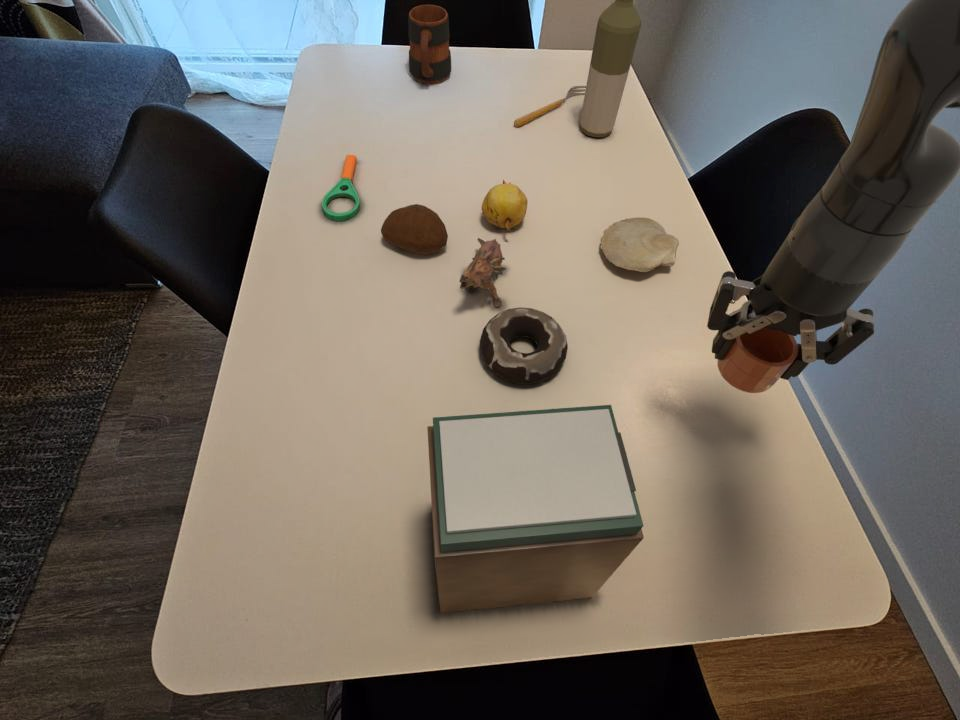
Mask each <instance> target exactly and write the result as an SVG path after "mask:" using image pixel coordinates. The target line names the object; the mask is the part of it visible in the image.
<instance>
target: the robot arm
mask: <svg viewBox="0 0 960 720" xmlns="http://www.w3.org/2000/svg"><path fill="white" fill-rule="evenodd" d="M944 109H955V110H956V109H959V110H960V0H909V2H907V3H906V4H905V6H903V8H902V9H900V11H899V12H898V13H897V15H896V16H895V18H894V19H893V20H892V22H891V24H890V25H889V27H888V29H887V31H886V33H885V35H884V37H883V39H882V42H881V44H880V47H879V50H878V52H877V55H876V60H875V63H874V67H873V71H872V75H871V79H870V82H869V85H868V89H867V91H866V97H865V99H864V101H863V104H862V107H861V110H860V113H859V116H858V119H857V122H856V126H855V128H854V132H853V134H852V137H851V139H850V142H849V145H848V146H847V148H846V149H845V151H844V152H843V154H842V155H841V156H840V158H839V160H838V162H836V164H835V166H834V168H833V169H832V171H831V172H830V174H829V175H828V177H827V179H826V180H825V182H824V184H823V185H822V187H821V188H820V189H819V191H817V193H816V194H815V195H814V196H813V198H811V200H810V201H809V202H808V204H807V205H806V206H805V207H804V209H803V211H802V212H801V214H800V215H799V216H798V217H797V218H796V219H795V221H794V222H793V224H792V225H791V229H790V231H789V233H788V234H787V236H786V237H785V239H784V241H783V242H782V244H781V245H780V247H779V249H778V250H777V251H776V253H775V255H774V256H773V258H772V260H771V261H770V263H769V264H768V266H767V267H766V269H765V271H764V272H763V274H762V275H760V276H758V277H757V278H755V279H754V280H752V281H749V280H742V279H738V278H737V274H736V272H734V271H730V270H726V271H725V272H722V275H721V278H720V280H719V282H718V286H717V289H716V292H715V293H714V297H713V299H712V303H711V305H710V308H709V313H708V319H707V325H706V327H707V329H709V330H711V331H717V333H716V335H715V336H714V338H713V340H712V345H711V353H712V354H714V359H715V360H717V361H718V360H722V359H723V358H724V356H725V355H726V353H727V351H728V350H729V348H730V347H731V345H732V344H733V342H734V340H735V338H736V337H738V336H740V335H742V334H744V333H746V332H747V333H748V334H751V333H753V332H755V331H757V330H759V329H761V328H767V329H771V330H780V331H782V332H784V333H786V334H789V335H792V336H794V337H797V336H798V335H800V343H797V344H798V356H797V357H796V359H795V360H794V361H793V363H792V364H791V365H790V366H789V367H788V368H787V370H786V371H785V372H784V373H783V374H782V376H781V377H780V378H779V379H782V380H785V381H789V380H790V379H791V378H796V377H799V376H800V374H801V373H802V372H803V371H804V370H805V369H806V368H807V367H808V365H809V364H811V363H814V362H816V361H818V360H820V361H824V363H825V364H827V365H830V366H831V365H836V364H838V363H839V362H841V361H842V360H843V359H845V357H847V356H848V355H850V353H852V352H853V351H855V350H856V349H857V348H858V347H859V346H861V345H862V344H863V343H864V342H866V341H867V340H868V339H869V338H871V337H872V336H873V335H874V334H875V319H874V311H873V310H872V309H871V308H862V309H859V310H858V311H857V310H854V309H852V308H851V306H853V304H854V303H855V302H856V301H857V300H858V299H859V297H860V296H862V294H863V293H864V292H865V291H866V289H867V288H868V287H869V286H870V285H871V284H872V283H873V281H875V279H876V278H877V276H878V275H879V274H880V273H881V272H882V271H883V269H884V268H885V267H887V265H888V264H889V263H890V262H891V260H893V258H894V257H895V255H896V254H897V253H898V252H899V251H900V249H901V248H902V247H903V245H904V243H905V241H906V240H907V239H908V237H909V235H910V233H911V232H912V231H913V229H914V228H915V227H916V225H918V223H919V222H920V221H921V220H922V218H923V217H924V216H925V215H926V214H927V213H928V212H929V210H930V209H931V208H932V207H933V205H935V203H936V202H937V201H938V200H939V199H940V197H942V196H943V194H944V193H945V192H946V191H947V190H948V188H949V187H950V186H951V184H952V183H953V182H954V180H955V179H956V177H957V176H958V174H959V173H960V143H959V142H958V140H957V139H956V138H955V137H954V136H952V134H951V133H949V132H947V131H946V130H944V129H943V128H942V127H939V126H936V125H934V124H932V122H933V121H934V119H935V118H936V117H937V116H938V115H939V114H940V113H941V111H943V110H944ZM744 296H748V298H749V300H747V301H745V302H744V303H743V304H742V305H741V307H740V308H738V309H736V310H734V311H732V312H730V313H729V314H728V313H727V312H728V309H729V306H730V304H731V305H734V304H736V302H737V301H739V300H740V299H741V298H742V297H744ZM838 324H839V325H840V324H841V325H840V327H839V328H837V330H835V331H834V332H833V333H832V334H831V335H830V336H829V337H827V339H825V340H818V339H817V338H818V334H817V333H818V331H820V330H823V329H826V328H829V327H832V326H836V325H838Z"/></svg>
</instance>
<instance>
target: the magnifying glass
mask: <svg viewBox="0 0 960 720" xmlns="http://www.w3.org/2000/svg"><path fill="white" fill-rule="evenodd" d="M357 160H358V158H357V156H356V155H355V154H347V155H345V159H344V163H343V168H342V172H341V176H340V180H339V181H338V182H337V183H336V184H335V185H334V186H333V187H332V188H331V189H330V190H329V191H328V192H326V194H325V195H324V196H323V198H322V201H321V209H322V212H323V213H324V216H325V217H326V218H327V219H328V220H331V221H334V222H346V221H349V220H351V219H353V218H355V217H356V216H357V215H358V213H359V211H360V209H361V201H360V196H359V195H358V193H357V191H356V189H355V187H354V185H353V180H354V175H355V170H356V165H357ZM341 197H347V198H350V199H352V200H353V201H354V203H355V204H354V206H353V207H352V209H349V210H348V211H343V212H336V211H335V212H334V211H332V210H330V209H329V208H328V207H327V206H328V204H329V202H330V201H332V200H334V199H336V198H341Z"/></svg>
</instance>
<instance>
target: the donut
mask: <svg viewBox="0 0 960 720" xmlns="http://www.w3.org/2000/svg"><path fill="white" fill-rule="evenodd" d="M520 337H522V338H528V339H530V340H532V341H533V342H534V343H535V344H536V347H537V348H536V349H535V350H533V351H530V352H520V351H518V350H515V349H514V348H513V347H512V346H511V341H512V340H514V339H516V338H520ZM568 345H569V344H568V340H567V335H566V333H565V332H564V329H563V328H562V327H561V325H560V324H559V322H557V321H556V320H555V318H553V317H552V316H550V315H549V314H547V313H545V312H544V311H542V310H538V309H536V308H531V307H521V306H520V307H514V308H513V307H512V308H508V309H505V310H502V311H500V312H498V313H497V314H496V315H494V316H493V317H492V318H490V319H489V320H488V321H487V323H486V324H485V326H484V328H482V332H481V335H480V339H479V346H480V347H479V348H480V354H481V356H482V359H483V361H484V363H485V365H486V366H487V367H488V368H489V369H490V370H491V372H493V373H494V375H497V376H498V377H499V378H501V379H503V380H505V381H507V382H512V383H514V384H523V385H529V384H530V385H531V384H537V383H541V382H542V381H545V380H547V379H549V378H552V377H553V376H554V375H555V374H556V373H558V371H560V369H561V368H562V366H563V364H564V363H565V360H566V359H567V355H568V348H569V347H568Z"/></svg>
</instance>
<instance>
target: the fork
mask: <svg viewBox="0 0 960 720" xmlns="http://www.w3.org/2000/svg"><path fill="white" fill-rule="evenodd" d="M585 90H586V85H573V86H571V87H569V89H568V90H567V93H566V95H565V97H563V98H560V99H558V100H556V101H553V102H551V103H549V104H546V105H545V106H543V107H540V108H538V109H536V110H534V111H532V112H529V113H527V114H525V115H522V116H520V117H517V118H516V119H514V121H513V126H514V127H515V128H520V127H521V126H523V125H525V124H527V123H530V121H532V120H534V119H536V118H538V117H540V116H541V115H544V114H546V113H548V112H549V111H552V110H554V109H555V108H557V107H559V106H561V105H563V104H564V103H565V102H566V100H567V99H569V98H572V97H576V96H585Z"/></svg>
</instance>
